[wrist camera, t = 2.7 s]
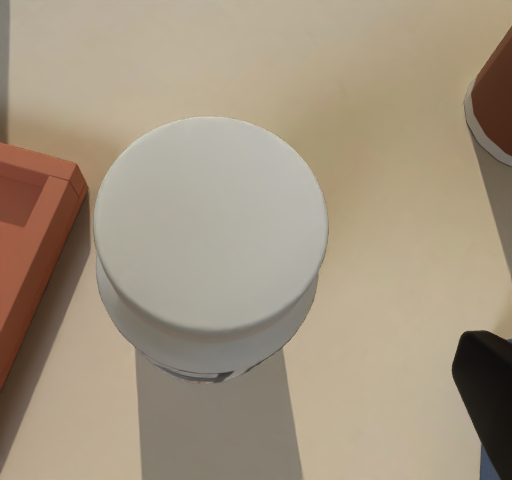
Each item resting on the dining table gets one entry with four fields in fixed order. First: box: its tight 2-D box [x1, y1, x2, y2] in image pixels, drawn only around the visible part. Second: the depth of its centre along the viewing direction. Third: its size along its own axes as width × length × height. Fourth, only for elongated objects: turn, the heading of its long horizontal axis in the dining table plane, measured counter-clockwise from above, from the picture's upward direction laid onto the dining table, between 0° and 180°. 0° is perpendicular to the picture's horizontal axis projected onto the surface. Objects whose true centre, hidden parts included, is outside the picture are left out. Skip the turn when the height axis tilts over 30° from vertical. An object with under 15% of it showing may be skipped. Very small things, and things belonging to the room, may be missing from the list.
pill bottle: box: [93, 116, 329, 384], centre depth 14 cm, size 6×6×10 cm
